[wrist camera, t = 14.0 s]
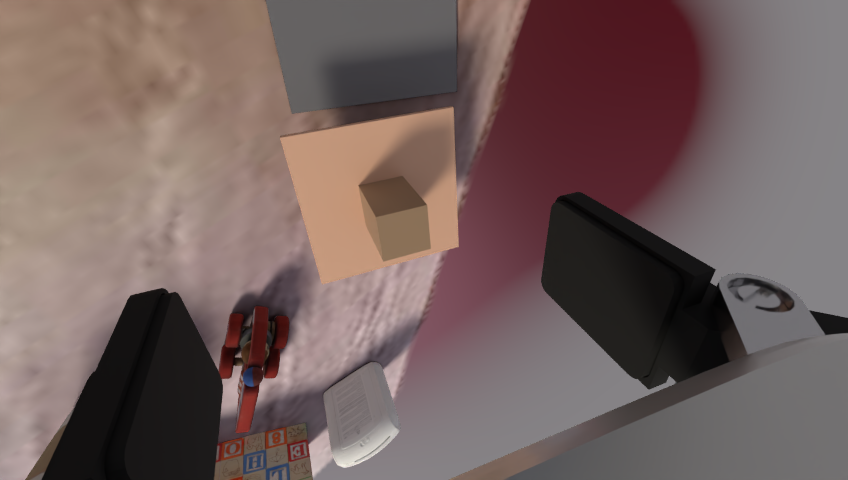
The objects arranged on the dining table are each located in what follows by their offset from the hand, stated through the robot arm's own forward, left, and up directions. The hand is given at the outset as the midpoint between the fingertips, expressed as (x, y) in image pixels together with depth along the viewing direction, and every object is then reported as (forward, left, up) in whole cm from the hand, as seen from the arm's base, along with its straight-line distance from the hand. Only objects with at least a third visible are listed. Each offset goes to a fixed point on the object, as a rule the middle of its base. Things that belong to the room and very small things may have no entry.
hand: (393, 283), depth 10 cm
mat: (-6, +8, -34) cm, 36 cm away
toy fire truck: (+30, -12, -35) cm, 47 cm away
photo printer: (+45, -1, -34) cm, 56 cm away
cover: (+11, +6, -28) cm, 30 cm away
